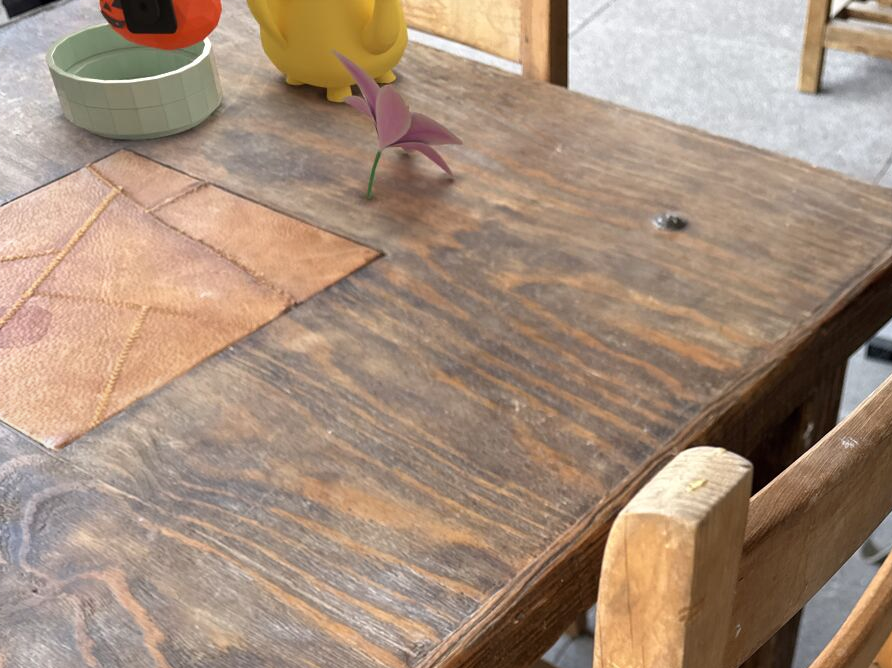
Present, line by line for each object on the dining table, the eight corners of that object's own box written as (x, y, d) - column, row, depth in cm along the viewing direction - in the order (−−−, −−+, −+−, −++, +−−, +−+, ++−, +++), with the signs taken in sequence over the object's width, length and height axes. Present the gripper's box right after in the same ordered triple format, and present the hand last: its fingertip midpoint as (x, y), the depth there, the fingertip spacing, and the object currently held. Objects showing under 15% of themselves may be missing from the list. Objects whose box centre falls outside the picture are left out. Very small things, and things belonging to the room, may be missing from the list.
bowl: (51, 146, 102) (30, 84, 98) (81, 79, 111) (63, 20, 107) (214, 143, 103) (200, 81, 99) (232, 77, 111) (219, 18, 108)
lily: (470, 227, 97) (494, 98, 93) (333, 189, 91) (352, 49, 87) (424, 212, 106) (444, 93, 102) (296, 176, 100) (312, 49, 96)
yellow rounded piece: (266, 116, 107) (236, -35, 97) (272, 54, 115) (245, -91, 106) (417, 110, 108) (402, -40, 98) (412, 49, 116) (398, -94, 107)
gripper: (45, -382, 70) (132, -37, 84) (-33, -325, 59) (81, 59, 73) (171, -379, 70) (237, -36, 84) (116, -321, 60) (201, 60, 74)
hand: (164, 6), depth 79 cm, fingers closed on pumpkin, 7 cm apart
